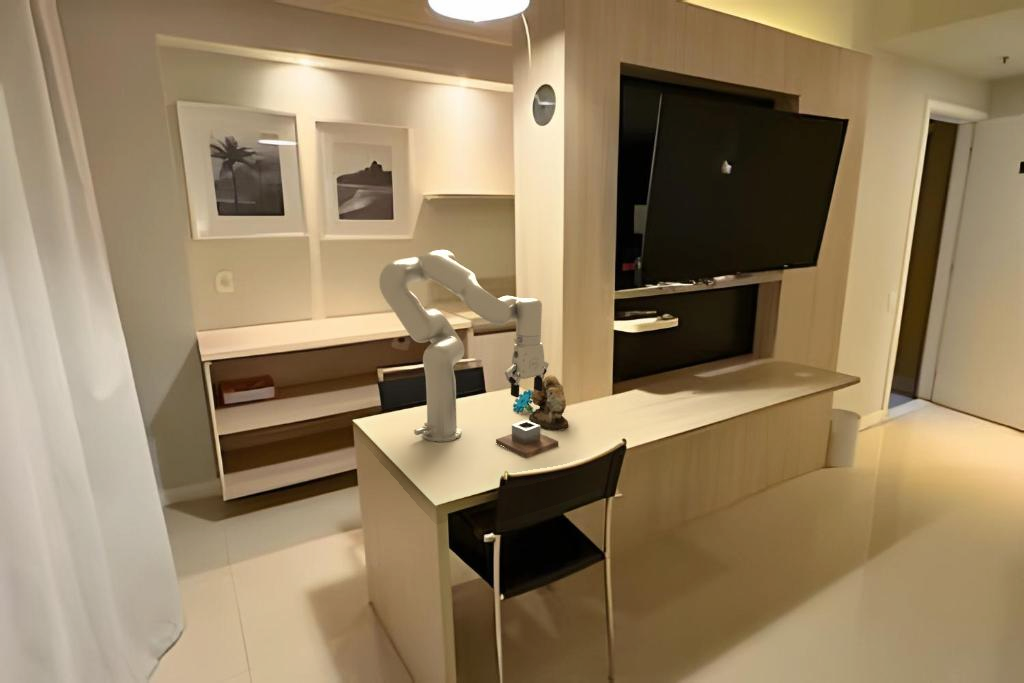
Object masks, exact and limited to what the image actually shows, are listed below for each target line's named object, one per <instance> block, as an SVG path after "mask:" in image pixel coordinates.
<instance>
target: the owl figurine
mask: <svg viewBox="0 0 1024 683" xmlns="http://www.w3.org/2000/svg"><path fill="white" fill-rule="evenodd" d="M531 391H532V396H531V395H530V396H531V397H530V400H532V401H533V402H532V403H533V404H534V405H535V406H537V407H539V408H536V409H535V410H533V413H530V414H529V417H528V421H530V422H533V423H535V424H538V425H540V426H541V429H543V430H547V431H555V432H556V431H563V430H566V429H567V428H568V427H569V422H568V420H567V419H566V418H565V417H564V416H563V414H564V412H565V410H566V407H567V404H566V401H567V399H566V397H565V394H564V393H565V392H564V386H563V384H561V383H560V381H559V379H558V378H557V377H556V376H555V375H553V374H550V375H546V376H544V378H543V380H542V391H538V390H535V389H534V388H533V390H531Z"/></svg>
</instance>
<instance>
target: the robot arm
mask: <svg viewBox="0 0 1024 683" xmlns="http://www.w3.org/2000/svg"><path fill="white" fill-rule="evenodd" d="M430 280H431V281H433V282H435V283H437V284H438V285H440V286H441V287H443V288H444V289H446V290H448V291H449V292H451V293H452V294H454V295H456V296H457V297H458V298H459V299H460V300H461V301H462V303H463V304H464V305H465V306H467V308H469V310H470V311H472V312H474V313H473V314H476V315H478V316H479V317H481V318H482V319H484V320H486V321H487V322H488V323H491V324H493V325H497V326H503V325H506V324H507V323H508V322H509V323H510V322H511V321H513V320H516V324H515V325H516V326H515V327H516V328H515V338H513V341H514V343H515V344H514V346H513V352H512V356H511V357H512V358H511V366H510V367H509V368H506V370H505V371H504V375H505V377H506V380H507V382H508V384H510V395H511V397H514V398H519V395H520V384H519V383H520V381H521V380H522V379H530V378H533V377H534V378H533V390H534V389H535V390H538V391H542V380H543V378H544V379H545V375H546V374H547V371H548V367H549V365H550V364H549V363H548V362H547V361H545V352H544V346H543V343H542V340H541V339H542V318H543V316H542V315H543V314H542V313H543V305H542V301H541V300H539V299H537V298H528V297H527V298H520V297H516V296H512V295H504V296H501V297H499V298H498V297H496V296H494V295H493V294H491V293H490V292H489V291H486V289H484V288H483V287H482V286H481V285H480V284H479V283H478V281H477V276H476V274H475V273H474V272H472V271H471V270H469V269H468V268H466V267H464V266H463V265H461V264H459V263H458V261H457V258H456V257H455V254H453V253H452V252H451V251H449V250H446V249H438V250H432V251H429V252H427V253H426V254H425V253H424V254H420V255H416V256H411V257H406V258H405V257H404V258H399V259H395V260H392V261H390V262H388V263H387V264H386V265H385V266H384V267H383V268H382V271H381V272H380V275H379V281H378V283H379V289H380V293H381V295H382V297H383V298H384V300H385V301H386V303H387V304H388V305H389V307H390V308H391V309H392V311H393V312H394V314H395V315H396V317H397V319H398V320H399V321H400V323H401V324H402V326H403V327H404V329H405V330H406V332H407V333H408V335H409V336H410V337H411V339H412V340H413V341H414V342H416V343H418V344H419V343H421V344H422V343H427V342H430V343H431V344H429V345H428V346H427V348H426V349H425V350H424V352H423V356H422V365H423V369H424V370H423V371H424V375H425V389H426V418H427V419H426V422H424V425H423V426H422V427H419V428H416V429H414V430H413V433H414V435H415V436H419V435H422V437H423V438H424V439H426V440H427V441H429V442H430V441H431V442H435V441H437V443H440V442H441V443H442V441H446V442H450V441H449V440H451V441H454V440H453V439H455V440H457V439H458V438H460V437H461V436H462V429H461V428H460V427H458V426H457V384H456V382H457V380H456V375H455V370H454V366H455V365H456V364H457V363H459V361H460V360H462V359H463V356H464V354H465V347H464V343H463V341H462V339H461V338H460V337H459V335H458V334H457V332H456V330H455V329H454V327H453V325H452V324H451V323H450V321H449V320H448V319H447V317H446V316H445V315H444V314H443V313H442V312H440V311H439V310H437V309H435V308H429V309H428V308H427V309H425V308H424V305H422V303H421V301H420V300H419V298H418V297H417V296H416V295H415V294H414V293H413V292H412V291H411V290H410V289H409V288H408V286H409V285H413V284H416V283H421V282H425V281H430ZM460 435H461V436H460ZM459 436H460V437H459ZM456 438H457V439H456Z"/></svg>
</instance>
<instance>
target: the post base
mask: <svg viewBox="0 0 1024 683" xmlns="http://www.w3.org/2000/svg"><path fill="white" fill-rule="evenodd" d="M524 428H525V429H527V428H530V427H524ZM496 443H497V444H496ZM495 444H496V445H498V444H499V445H498V446H500V445H502V446H504V447H505V448H504V447H503V448H504V449H506V448H507V449H506V450H508V449H509V451H510V450H511V451H510V452H512V451H513V452H512V453H514V452H515V453H514V454H516V453H517V455H518V454H519V456H520V455H521V457H522V456H523V457H522V458H525V459H527V458H530V457H532V456H536V455H538V454H540V453H543V452H545V451H548V450H551V449H553V448H556V447H559V440H557V439H554V438H552V437H549V436H547V435H545V434H542V433H540V441H538V442H535V443H532V444H530V445H527V446H525V445H522V444H520V443H518V442H516V441H514V440H512V433H511V434H507V435H505V436H502V437H498V438H496V439H495ZM502 446H501V447H502Z"/></svg>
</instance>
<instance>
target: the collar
mask: <svg viewBox="0 0 1024 683" xmlns="http://www.w3.org/2000/svg"><path fill="white" fill-rule="evenodd" d="M524 427H530V428H527V429H525V428H524ZM541 429H542V428H541V426H540V425H538V424H535V423H533V422H531V421H530V420H529V419H528V420H527V419H526V420H523V421H522V420H521V421H520V422H516V423H514V424H512V425H511V434H512V440H514V441H516V442H518V443H520V444H522V445H525V446H527V445H530V444H532V443H535V442H538V441H540V434H542V433H541Z"/></svg>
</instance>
